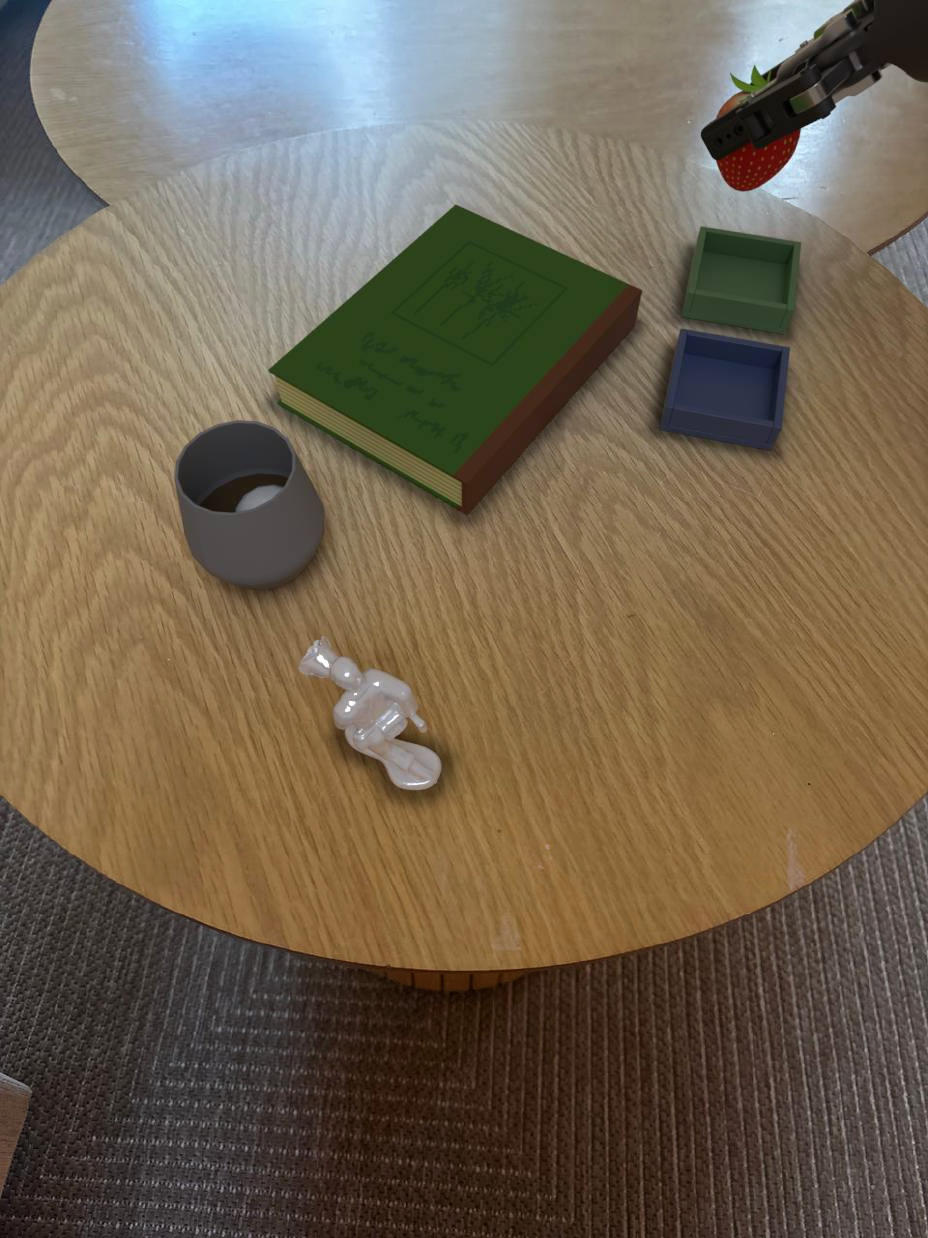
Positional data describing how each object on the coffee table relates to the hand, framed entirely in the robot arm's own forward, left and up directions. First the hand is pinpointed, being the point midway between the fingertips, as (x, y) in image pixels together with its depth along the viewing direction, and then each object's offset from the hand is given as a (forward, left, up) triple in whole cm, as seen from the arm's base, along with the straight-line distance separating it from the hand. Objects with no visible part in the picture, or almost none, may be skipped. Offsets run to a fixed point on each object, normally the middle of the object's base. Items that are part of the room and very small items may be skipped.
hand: (732, 122), depth 58 cm
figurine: (+14, +41, -19) cm, 47 cm away
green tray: (-4, -7, -19) cm, 21 cm away
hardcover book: (+17, +7, -19) cm, 26 cm away
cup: (+26, +29, -19) cm, 43 cm away
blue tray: (-4, +6, -19) cm, 20 cm away
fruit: (-2, +1, -4) cm, 5 cm away
